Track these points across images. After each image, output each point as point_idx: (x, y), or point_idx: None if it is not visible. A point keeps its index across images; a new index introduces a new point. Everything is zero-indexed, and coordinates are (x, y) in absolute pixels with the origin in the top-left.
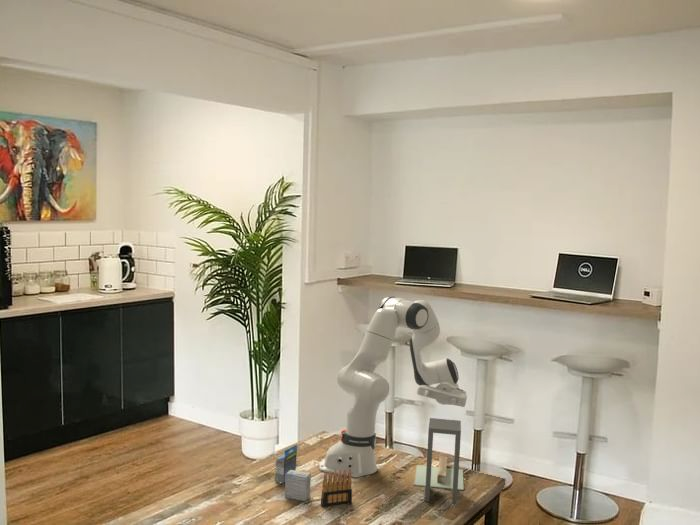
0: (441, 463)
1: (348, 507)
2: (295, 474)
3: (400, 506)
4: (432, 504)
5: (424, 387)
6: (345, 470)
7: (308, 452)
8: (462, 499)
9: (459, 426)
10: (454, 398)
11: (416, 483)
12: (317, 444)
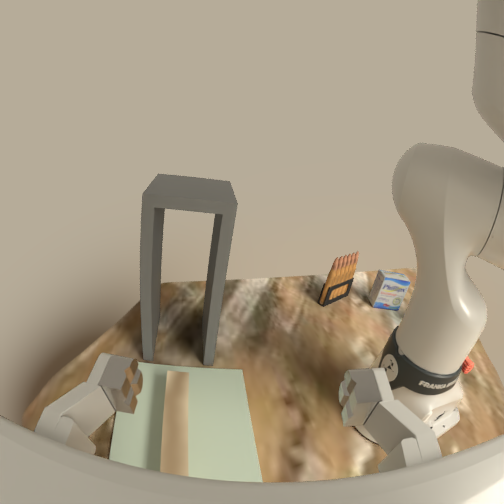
0: (178, 447)
1: (315, 294)
2: (394, 273)
3: (247, 303)
4: (195, 312)
5: (478, 455)
6: (340, 257)
7: (496, 430)
8: (137, 330)
9: (155, 180)
10: (68, 401)
11: (237, 374)
12: None
